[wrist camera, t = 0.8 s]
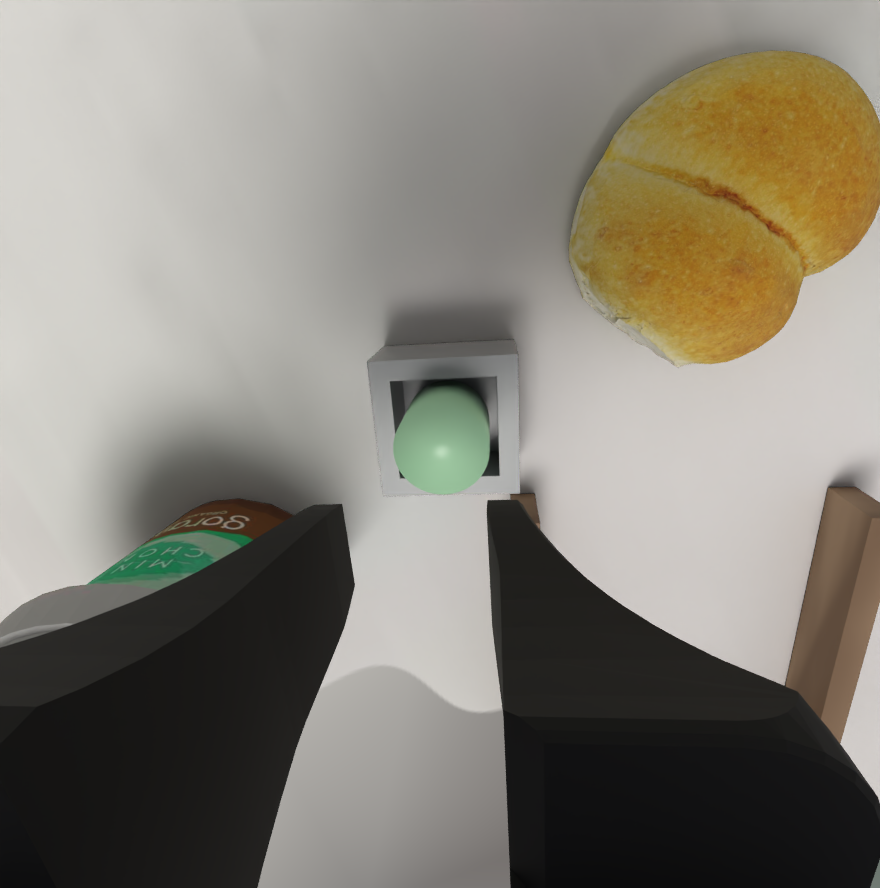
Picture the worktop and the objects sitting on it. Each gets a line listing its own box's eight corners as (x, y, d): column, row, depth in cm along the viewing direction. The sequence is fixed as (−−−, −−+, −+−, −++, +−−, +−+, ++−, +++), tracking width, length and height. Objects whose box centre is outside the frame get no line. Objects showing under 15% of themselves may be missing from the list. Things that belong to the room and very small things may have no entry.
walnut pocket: (855, 487, 20) (903, 517, 18) (797, 731, 25) (829, 781, 22) (510, 494, 22) (513, 523, 19) (515, 723, 26) (517, 769, 24)
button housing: (513, 339, 19) (517, 354, 17) (515, 461, 21) (519, 493, 18) (383, 346, 20) (366, 361, 17) (396, 464, 22) (382, 496, 19)
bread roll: (897, 167, 17) (1017, 144, 13) (697, 387, 20) (746, 419, 16) (704, 0, 16) (773, -80, 12) (524, 260, 19) (533, 262, 15)
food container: (305, 433, 22) (165, 573, 12) (370, 551, 23) (290, 752, 14) (83, 525, 24) (-170, 697, 15) (156, 625, 26) (-29, 834, 17)
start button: (488, 378, 18) (487, 402, 15) (490, 457, 19) (491, 493, 16) (403, 382, 18) (388, 406, 15) (411, 460, 19) (397, 495, 17)
